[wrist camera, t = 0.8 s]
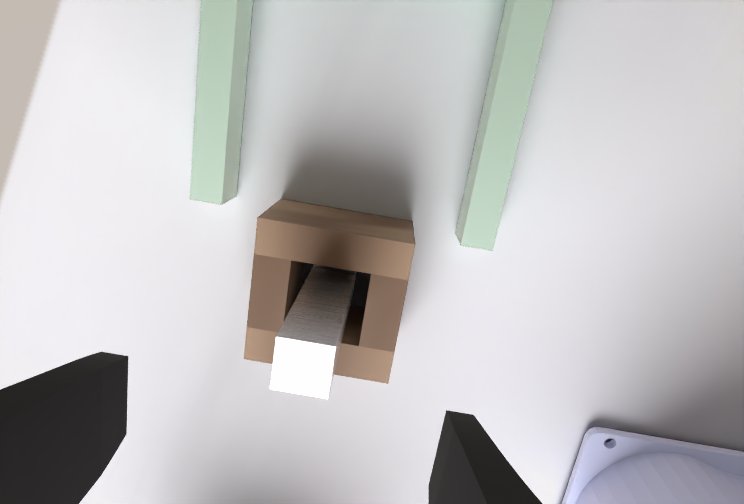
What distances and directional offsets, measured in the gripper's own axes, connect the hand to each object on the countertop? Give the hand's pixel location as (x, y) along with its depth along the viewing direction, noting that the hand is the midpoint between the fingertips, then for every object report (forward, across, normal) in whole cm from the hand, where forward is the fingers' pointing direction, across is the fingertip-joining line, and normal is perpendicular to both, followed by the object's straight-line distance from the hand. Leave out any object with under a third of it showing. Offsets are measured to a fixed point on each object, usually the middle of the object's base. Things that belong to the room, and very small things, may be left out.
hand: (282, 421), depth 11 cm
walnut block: (+10, 0, 0) cm, 10 cm away
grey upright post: (+10, 0, 0) cm, 10 cm away
